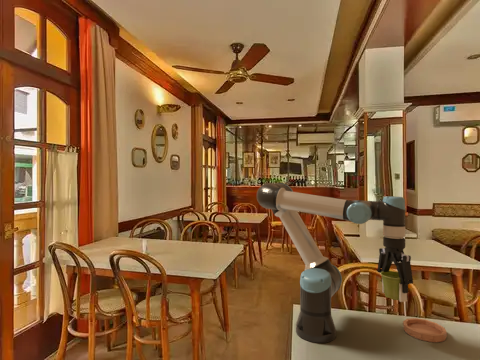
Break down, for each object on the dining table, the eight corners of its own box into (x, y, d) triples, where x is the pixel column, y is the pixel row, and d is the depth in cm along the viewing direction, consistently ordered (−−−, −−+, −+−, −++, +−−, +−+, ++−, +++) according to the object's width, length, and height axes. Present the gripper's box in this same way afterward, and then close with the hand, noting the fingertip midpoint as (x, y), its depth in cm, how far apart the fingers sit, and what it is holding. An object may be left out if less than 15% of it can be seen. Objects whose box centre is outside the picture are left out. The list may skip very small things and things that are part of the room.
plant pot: (412, 303, 106) (412, 279, 106) (384, 301, 108) (384, 277, 108) (403, 294, 115) (403, 271, 115) (377, 292, 117) (377, 270, 117)
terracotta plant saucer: (406, 337, 111) (406, 330, 111) (401, 321, 124) (401, 315, 124) (450, 345, 105) (450, 338, 105) (441, 328, 118) (441, 322, 118)
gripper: (425, 241, 103) (425, 307, 102) (383, 232, 123) (383, 286, 123) (407, 242, 101) (407, 308, 101) (367, 232, 121) (367, 287, 121)
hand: (394, 296), depth 112 cm, fingers closed on plant pot, 8 cm apart
